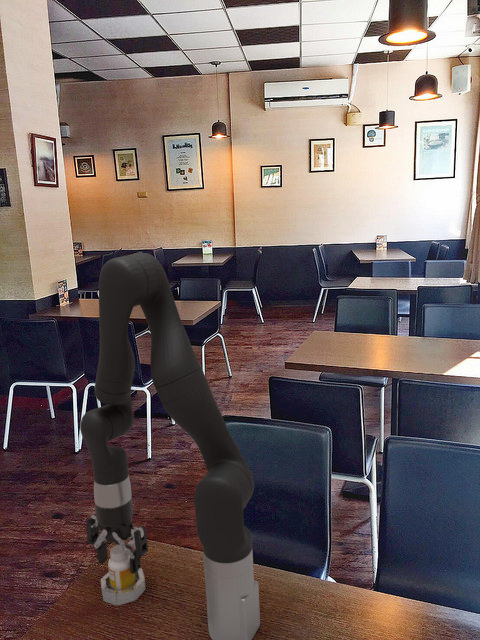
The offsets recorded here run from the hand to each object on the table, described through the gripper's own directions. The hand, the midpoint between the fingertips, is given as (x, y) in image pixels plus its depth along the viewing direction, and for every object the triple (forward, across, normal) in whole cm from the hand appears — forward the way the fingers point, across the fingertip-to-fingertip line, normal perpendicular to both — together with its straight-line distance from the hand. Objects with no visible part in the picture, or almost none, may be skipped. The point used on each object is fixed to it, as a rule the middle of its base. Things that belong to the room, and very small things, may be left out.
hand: (118, 566), depth 110 cm
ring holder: (+6, 0, 0) cm, 6 cm away
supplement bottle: (+6, 0, 0) cm, 6 cm away
